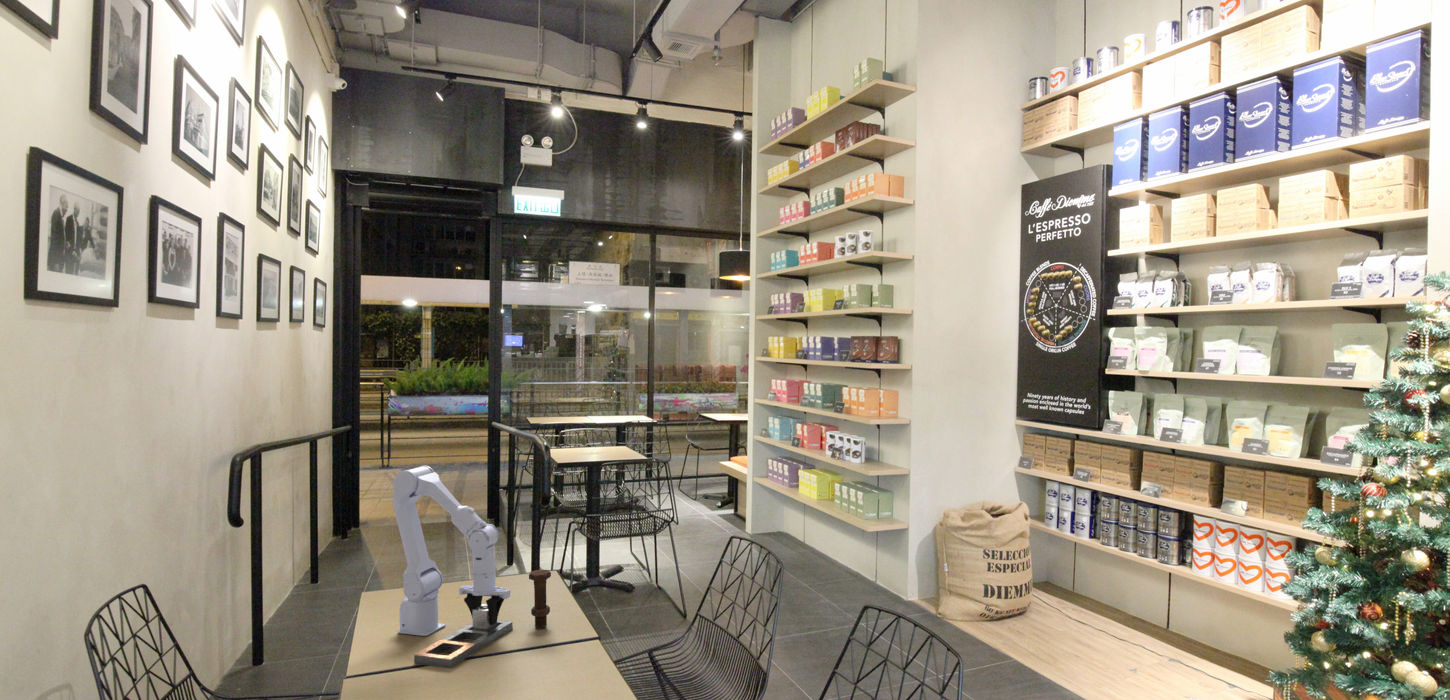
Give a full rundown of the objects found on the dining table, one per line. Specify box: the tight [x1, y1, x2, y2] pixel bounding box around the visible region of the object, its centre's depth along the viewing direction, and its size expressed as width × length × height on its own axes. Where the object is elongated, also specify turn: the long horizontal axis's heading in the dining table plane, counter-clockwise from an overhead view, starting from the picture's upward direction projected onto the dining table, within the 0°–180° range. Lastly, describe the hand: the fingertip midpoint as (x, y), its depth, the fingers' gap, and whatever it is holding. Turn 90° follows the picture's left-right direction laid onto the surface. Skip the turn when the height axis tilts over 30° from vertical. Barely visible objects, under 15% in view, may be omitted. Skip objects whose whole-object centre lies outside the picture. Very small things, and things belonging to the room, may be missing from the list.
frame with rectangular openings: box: [413, 619, 514, 669], centre depth 187 cm, size 10×26×2 cm, turn 163°
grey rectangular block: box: [472, 603, 497, 632], centre depth 195 cm, size 4×4×7 cm
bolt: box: [528, 569, 552, 629], centre depth 199 cm, size 6×5×15 cm
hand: (485, 622), depth 195 cm, fingers closed on grey rectangular block, 4 cm apart
